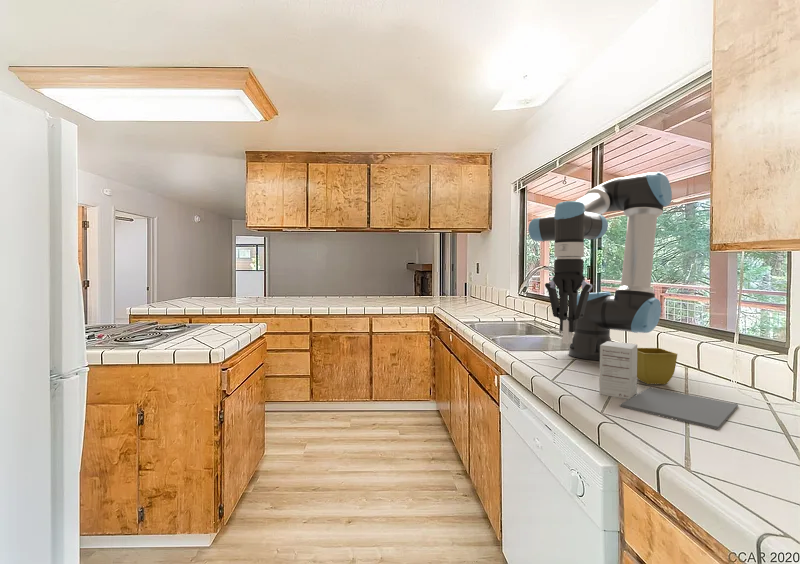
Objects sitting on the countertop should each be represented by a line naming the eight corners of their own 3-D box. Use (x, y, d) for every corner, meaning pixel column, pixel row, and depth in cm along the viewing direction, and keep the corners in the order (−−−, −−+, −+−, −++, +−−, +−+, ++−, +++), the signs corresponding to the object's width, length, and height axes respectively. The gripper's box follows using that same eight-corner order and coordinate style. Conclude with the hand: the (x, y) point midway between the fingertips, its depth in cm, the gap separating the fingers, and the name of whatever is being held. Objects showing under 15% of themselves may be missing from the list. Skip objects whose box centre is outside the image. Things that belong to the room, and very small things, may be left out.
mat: (649, 389, 107) (650, 387, 107) (737, 406, 94) (738, 404, 94) (620, 406, 94) (620, 404, 94) (718, 429, 80) (718, 426, 80)
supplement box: (606, 387, 109) (606, 340, 109) (637, 393, 104) (638, 343, 104) (598, 394, 103) (599, 344, 103) (631, 400, 99) (632, 348, 98)
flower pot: (627, 377, 119) (628, 347, 118) (658, 378, 118) (659, 347, 118) (643, 386, 110) (644, 353, 110) (677, 387, 109) (678, 354, 109)
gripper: (539, 258, 115) (538, 341, 116) (586, 257, 105) (584, 348, 106) (553, 259, 120) (552, 338, 121) (598, 258, 110) (597, 345, 111)
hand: (567, 343), depth 113 cm, fingers closed
